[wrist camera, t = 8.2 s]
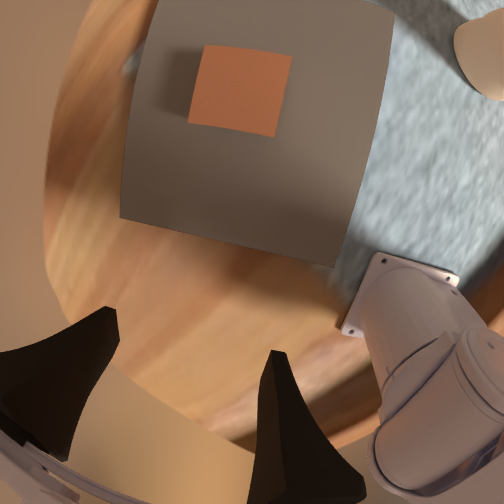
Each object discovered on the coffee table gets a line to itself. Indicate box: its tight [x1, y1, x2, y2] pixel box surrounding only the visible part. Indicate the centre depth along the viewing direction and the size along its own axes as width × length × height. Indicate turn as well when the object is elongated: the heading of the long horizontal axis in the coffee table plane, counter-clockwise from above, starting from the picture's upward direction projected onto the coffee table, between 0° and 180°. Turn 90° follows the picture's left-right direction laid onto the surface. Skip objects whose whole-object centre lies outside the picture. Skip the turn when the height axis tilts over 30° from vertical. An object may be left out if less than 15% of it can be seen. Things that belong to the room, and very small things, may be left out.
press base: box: [120, 0, 395, 268], centre depth 15 cm, size 15×18×3 cm
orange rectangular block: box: [188, 45, 292, 138], centre depth 13 cm, size 4×4×6 cm
